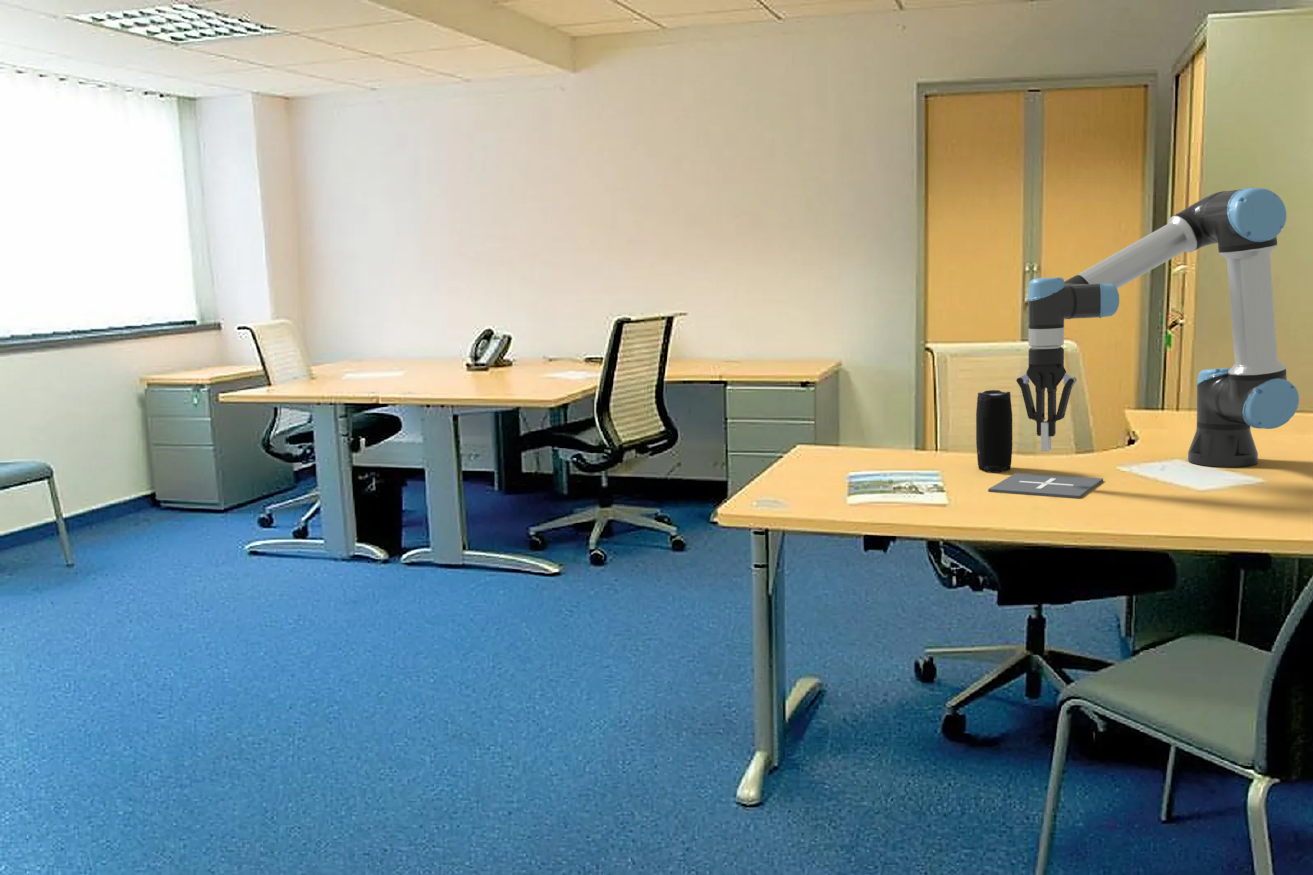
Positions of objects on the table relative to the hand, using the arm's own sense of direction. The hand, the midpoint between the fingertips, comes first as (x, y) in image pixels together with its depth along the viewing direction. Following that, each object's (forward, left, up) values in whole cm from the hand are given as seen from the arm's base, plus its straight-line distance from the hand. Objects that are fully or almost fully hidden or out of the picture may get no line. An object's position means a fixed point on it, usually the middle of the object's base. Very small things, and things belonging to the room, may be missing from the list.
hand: (1046, 450), depth 248 cm
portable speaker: (+17, -15, -9) cm, 24 cm away
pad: (0, 0, -8) cm, 8 cm away
